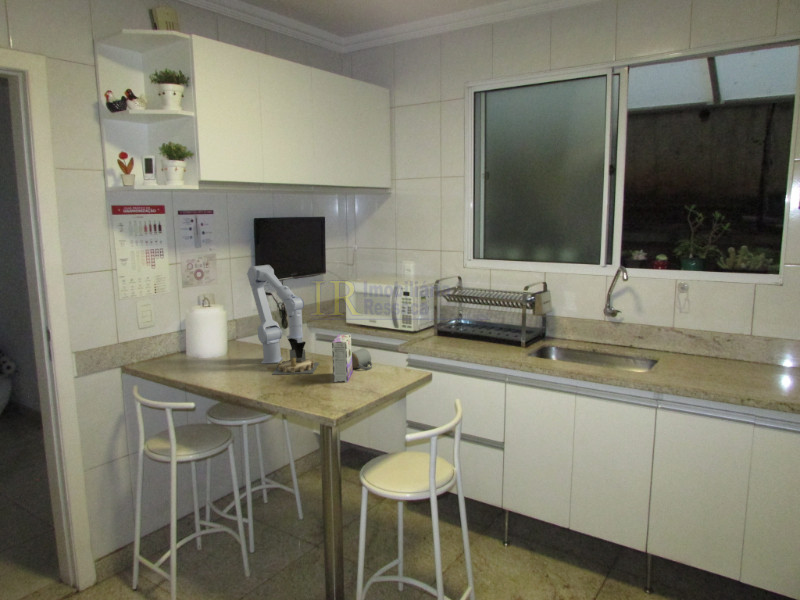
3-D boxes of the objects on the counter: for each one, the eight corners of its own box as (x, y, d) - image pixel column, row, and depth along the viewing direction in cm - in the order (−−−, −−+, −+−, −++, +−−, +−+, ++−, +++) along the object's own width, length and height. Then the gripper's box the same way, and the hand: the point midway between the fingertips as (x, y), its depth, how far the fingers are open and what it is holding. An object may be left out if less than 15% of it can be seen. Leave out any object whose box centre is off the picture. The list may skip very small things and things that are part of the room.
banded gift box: (294, 359, 243) (293, 348, 242) (305, 360, 240) (305, 349, 239) (290, 361, 240) (289, 349, 239) (301, 362, 237) (300, 350, 237)
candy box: (339, 372, 229) (337, 334, 226) (353, 372, 228) (351, 333, 226) (333, 382, 215) (331, 341, 213) (348, 382, 215) (346, 341, 212)
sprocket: (271, 370, 234) (270, 357, 233) (294, 361, 247) (294, 349, 246) (298, 374, 227) (297, 361, 226) (321, 365, 239) (320, 353, 239)
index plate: (281, 364, 245) (281, 363, 245) (319, 363, 245) (319, 362, 245) (272, 374, 229) (272, 373, 229) (312, 373, 228) (312, 372, 228)
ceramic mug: (346, 367, 236) (345, 350, 235) (359, 363, 242) (359, 346, 241) (363, 372, 229) (362, 354, 228) (377, 368, 235) (376, 350, 234)
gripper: (283, 323, 243) (285, 353, 245) (289, 328, 230) (291, 360, 231) (299, 321, 245) (300, 351, 247) (306, 327, 232) (308, 358, 234)
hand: (297, 355), depth 240 cm, fingers open, 7 cm apart
